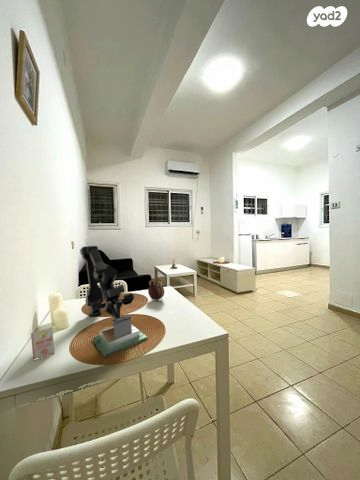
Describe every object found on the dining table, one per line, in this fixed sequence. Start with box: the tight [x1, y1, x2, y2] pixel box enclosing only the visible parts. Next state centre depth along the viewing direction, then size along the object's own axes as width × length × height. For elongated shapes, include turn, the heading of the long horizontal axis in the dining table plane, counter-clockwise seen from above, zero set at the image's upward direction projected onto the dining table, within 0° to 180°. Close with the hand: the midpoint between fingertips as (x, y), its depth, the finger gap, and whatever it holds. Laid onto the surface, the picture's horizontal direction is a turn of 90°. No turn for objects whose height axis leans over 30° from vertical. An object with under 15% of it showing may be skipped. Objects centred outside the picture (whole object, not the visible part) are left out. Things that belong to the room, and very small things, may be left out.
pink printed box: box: [30, 326, 55, 360], centre depth 77 cm, size 4×7×10 cm, turn 126°
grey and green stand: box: [92, 314, 148, 359], centre depth 85 cm, size 16×18×11 cm
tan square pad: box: [101, 316, 134, 330], centre depth 86 cm, size 1×11×9 cm
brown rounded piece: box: [147, 277, 165, 302], centre depth 130 cm, size 11×5×15 cm, turn 58°
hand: (118, 320), depth 84 cm, fingers closed
